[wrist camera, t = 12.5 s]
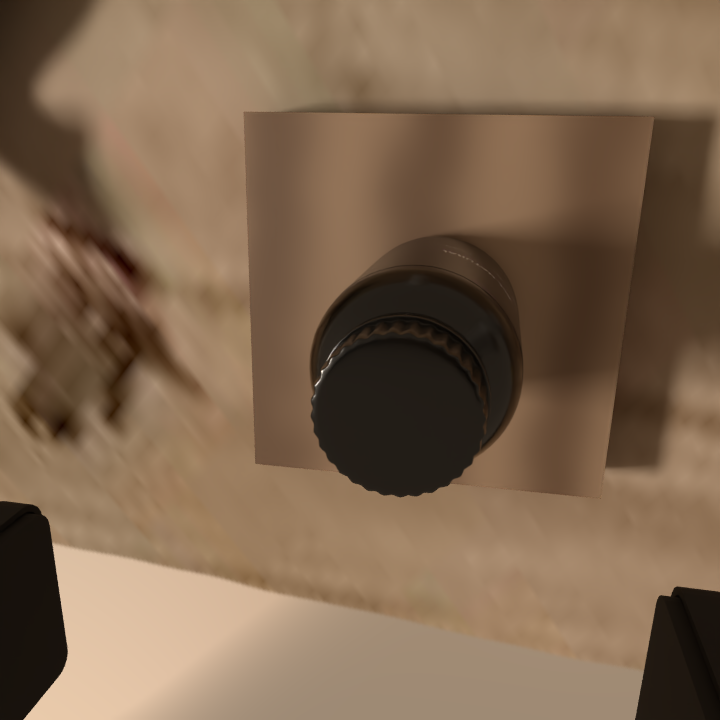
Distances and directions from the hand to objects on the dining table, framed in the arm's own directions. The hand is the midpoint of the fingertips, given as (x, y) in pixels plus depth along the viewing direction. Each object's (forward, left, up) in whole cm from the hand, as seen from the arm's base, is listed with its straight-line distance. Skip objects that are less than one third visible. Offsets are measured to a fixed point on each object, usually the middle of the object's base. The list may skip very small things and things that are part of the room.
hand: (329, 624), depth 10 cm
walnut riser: (0, 0, -23) cm, 23 cm away
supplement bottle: (0, 0, -21) cm, 21 cm away
